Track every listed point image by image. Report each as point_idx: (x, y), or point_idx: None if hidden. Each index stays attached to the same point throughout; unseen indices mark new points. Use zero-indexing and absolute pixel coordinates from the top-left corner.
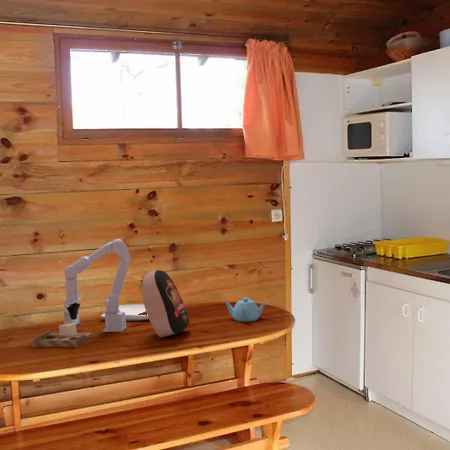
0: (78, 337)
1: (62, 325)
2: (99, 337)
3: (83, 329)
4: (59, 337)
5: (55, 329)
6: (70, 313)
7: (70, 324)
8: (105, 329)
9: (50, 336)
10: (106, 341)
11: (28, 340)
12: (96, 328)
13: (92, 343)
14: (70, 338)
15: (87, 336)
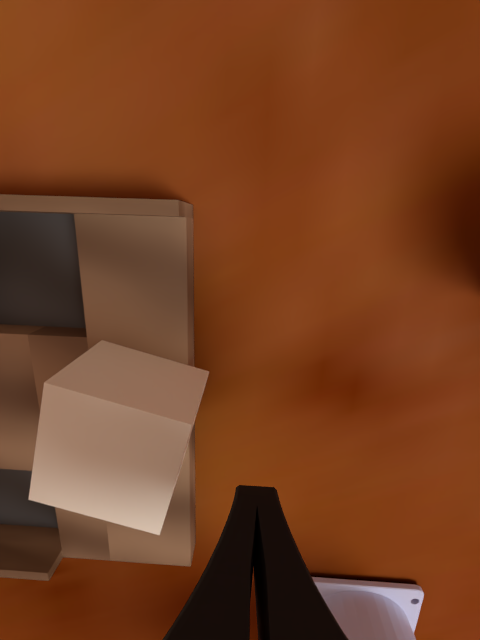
0: (57, 512)
1: (53, 425)
2: (163, 585)
3: (411, 419)
4: (25, 373)
5: (474, 120)
6: (221, 574)
7: (109, 495)
8: (342, 589)
9: (83, 252)
10: (80, 637)
11: (13, 14)
12: (425, 506)
13: (27, 583)
14: (16, 469)
15: (98, 556)
